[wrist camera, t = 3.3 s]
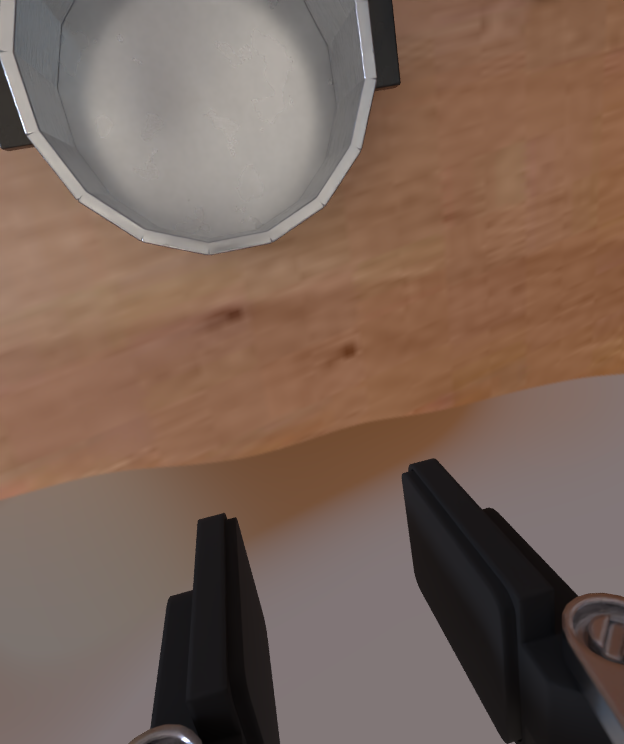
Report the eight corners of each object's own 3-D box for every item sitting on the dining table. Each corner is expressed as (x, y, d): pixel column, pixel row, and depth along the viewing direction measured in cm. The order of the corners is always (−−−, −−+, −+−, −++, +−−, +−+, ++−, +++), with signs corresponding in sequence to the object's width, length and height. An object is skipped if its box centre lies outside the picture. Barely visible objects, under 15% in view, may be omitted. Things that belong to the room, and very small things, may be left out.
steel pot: (-27, -54, 22) (-110, -146, 17) (340, -96, 24) (377, -191, 19) (81, 273, 27) (46, 287, 22) (379, 215, 29) (418, 214, 24)
